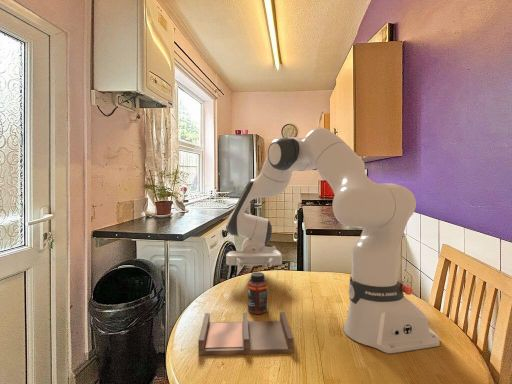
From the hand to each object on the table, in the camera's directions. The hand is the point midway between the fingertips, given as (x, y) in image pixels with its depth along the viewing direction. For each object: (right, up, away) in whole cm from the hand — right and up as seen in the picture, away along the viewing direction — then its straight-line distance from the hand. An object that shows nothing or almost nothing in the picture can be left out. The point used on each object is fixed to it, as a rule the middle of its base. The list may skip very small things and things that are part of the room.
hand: (255, 264), depth 106 cm
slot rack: (-2, -12, -28) cm, 31 cm away
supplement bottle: (+1, -11, -12) cm, 17 cm away
